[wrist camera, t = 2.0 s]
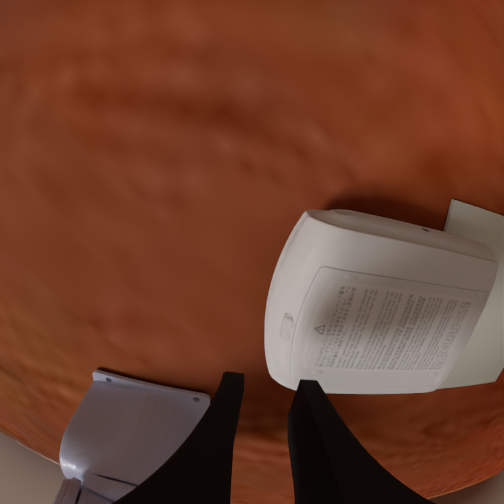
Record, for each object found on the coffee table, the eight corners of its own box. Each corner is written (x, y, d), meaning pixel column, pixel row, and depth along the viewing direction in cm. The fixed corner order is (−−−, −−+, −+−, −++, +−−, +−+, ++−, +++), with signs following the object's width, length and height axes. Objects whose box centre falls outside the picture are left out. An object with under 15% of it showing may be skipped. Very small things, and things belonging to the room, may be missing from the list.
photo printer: (469, 231, 16) (283, 191, 16) (510, 256, 12) (292, 210, 12) (416, 361, 20) (253, 351, 19) (438, 400, 16) (252, 400, 15)
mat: (381, 389, 21) (382, 391, 21) (451, 198, 16) (453, 199, 16) (493, 379, 21) (495, 381, 21) (555, 236, 16) (557, 237, 16)
